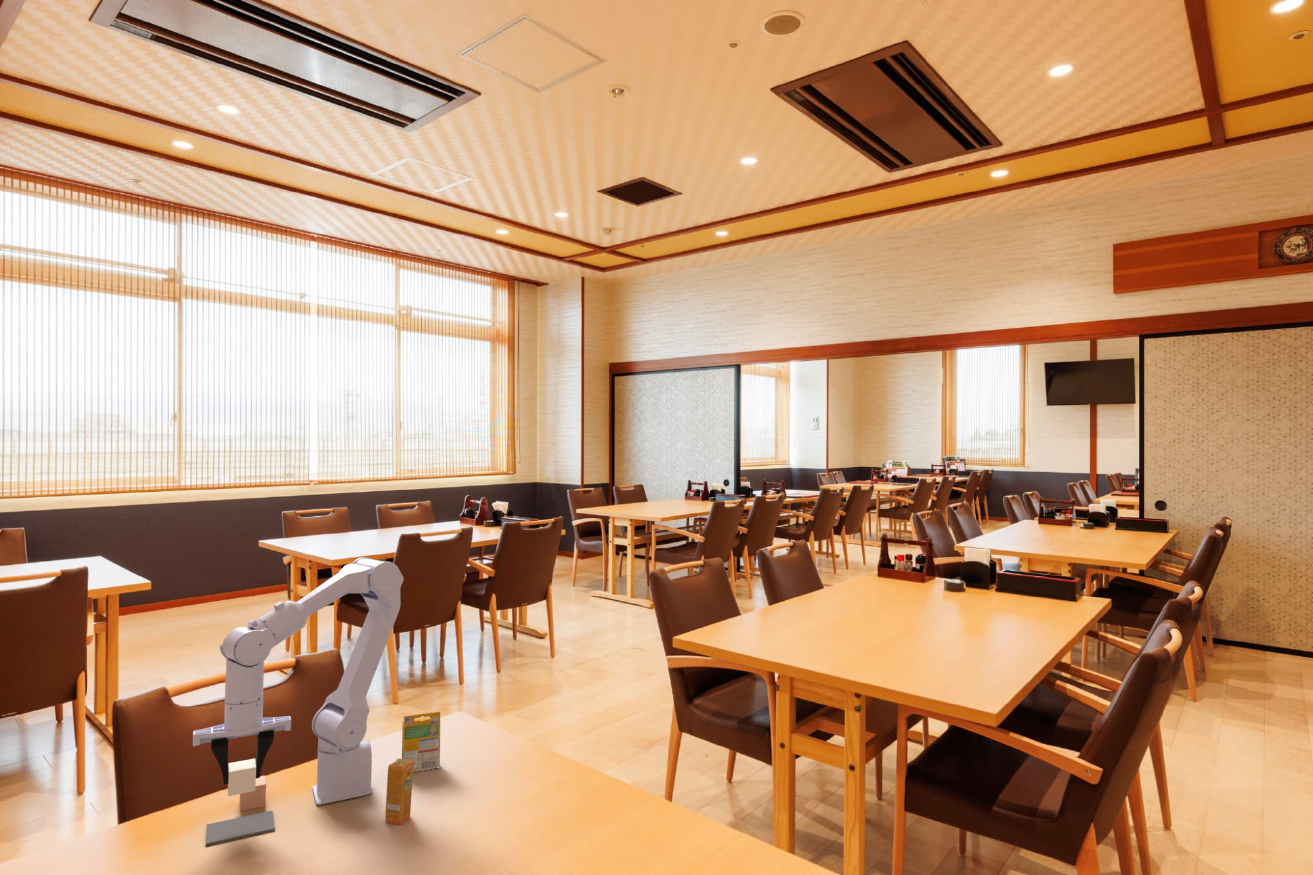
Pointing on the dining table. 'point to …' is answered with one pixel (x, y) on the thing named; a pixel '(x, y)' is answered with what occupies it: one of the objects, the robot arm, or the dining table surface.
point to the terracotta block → (254, 796)
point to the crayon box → (421, 741)
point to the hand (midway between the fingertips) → (241, 778)
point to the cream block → (242, 777)
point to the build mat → (239, 827)
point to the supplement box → (399, 791)
